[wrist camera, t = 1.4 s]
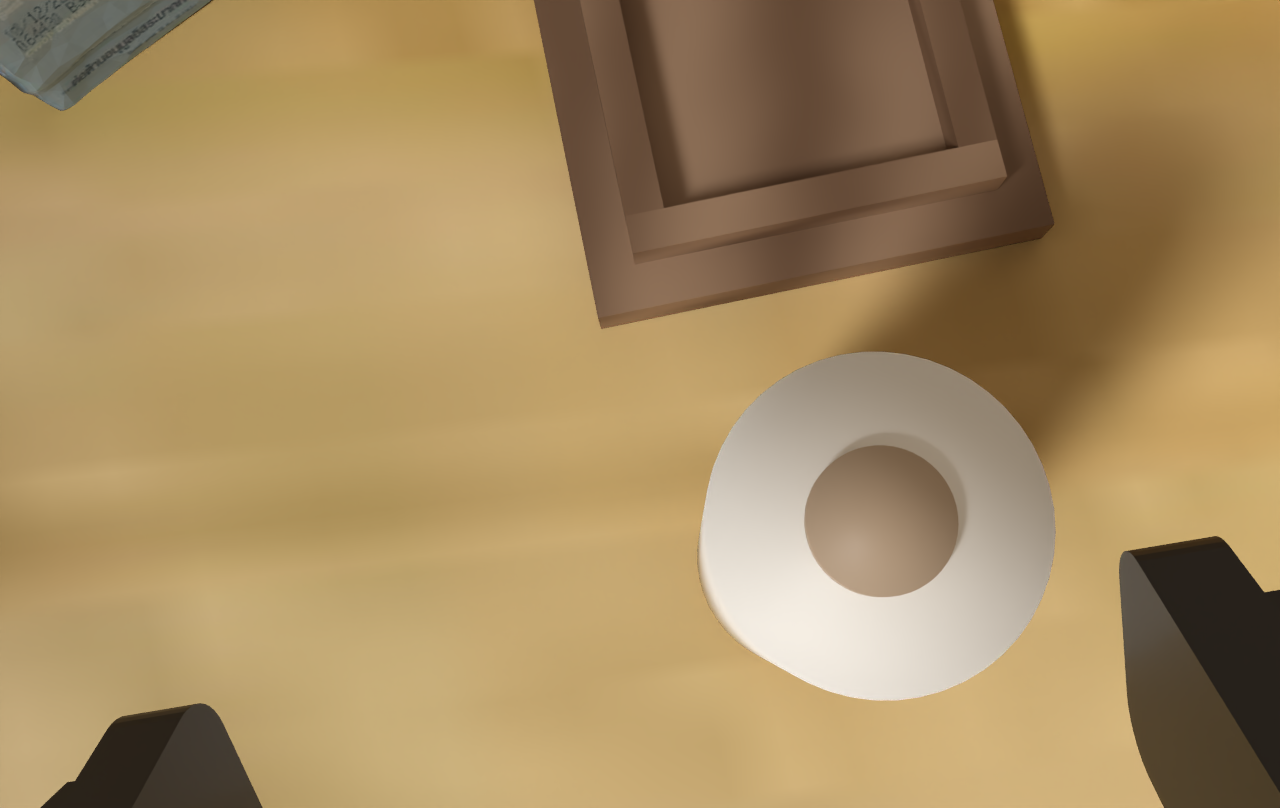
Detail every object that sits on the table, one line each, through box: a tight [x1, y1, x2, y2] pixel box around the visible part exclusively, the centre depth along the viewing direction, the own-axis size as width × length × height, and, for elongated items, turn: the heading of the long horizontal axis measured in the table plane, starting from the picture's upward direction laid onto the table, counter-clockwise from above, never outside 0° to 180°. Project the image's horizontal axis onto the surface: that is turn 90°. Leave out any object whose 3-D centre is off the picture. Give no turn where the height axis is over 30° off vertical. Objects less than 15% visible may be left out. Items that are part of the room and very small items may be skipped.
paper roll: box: [697, 352, 1056, 700], centre depth 25 cm, size 6×6×12 cm
